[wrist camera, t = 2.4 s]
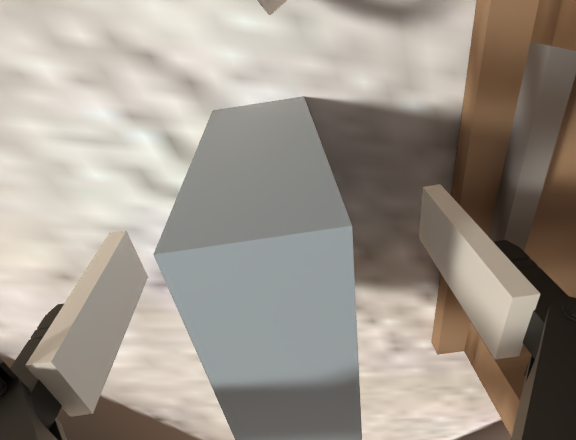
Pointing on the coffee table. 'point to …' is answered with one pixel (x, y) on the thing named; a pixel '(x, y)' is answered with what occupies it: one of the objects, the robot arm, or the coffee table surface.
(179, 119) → the coffee table surface
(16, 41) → the coffee table surface
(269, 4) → the cup
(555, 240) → the wooden u-shaped holder
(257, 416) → the gray rectangular block
